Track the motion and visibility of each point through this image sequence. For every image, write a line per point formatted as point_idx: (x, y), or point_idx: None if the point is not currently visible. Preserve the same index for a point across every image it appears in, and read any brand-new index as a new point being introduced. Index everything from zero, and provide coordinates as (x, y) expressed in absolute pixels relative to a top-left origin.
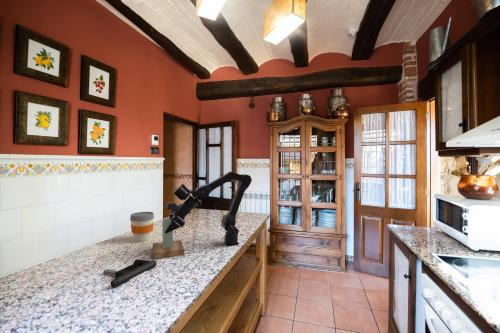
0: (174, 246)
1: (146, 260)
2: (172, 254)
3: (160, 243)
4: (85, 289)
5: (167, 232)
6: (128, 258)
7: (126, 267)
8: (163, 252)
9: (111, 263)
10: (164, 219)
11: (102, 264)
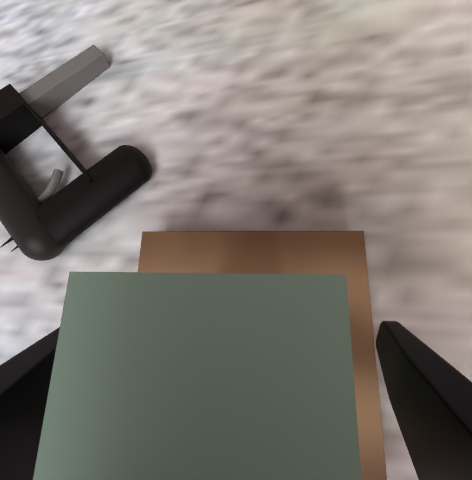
0: None
1: (75, 202)
2: None
3: None
4: (3, 35)
5: None
6: (238, 122)
7: (36, 118)
8: None
9: (204, 62)
10: (338, 336)
11: (209, 32)
